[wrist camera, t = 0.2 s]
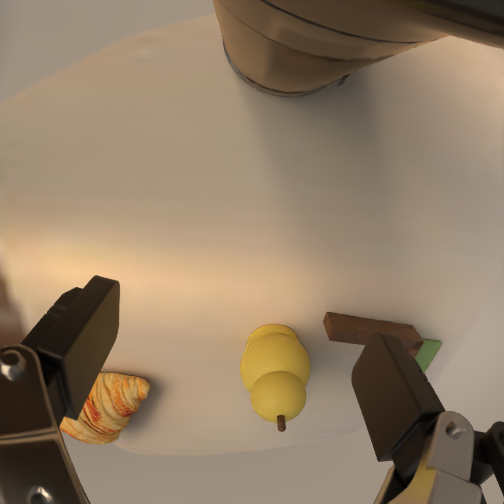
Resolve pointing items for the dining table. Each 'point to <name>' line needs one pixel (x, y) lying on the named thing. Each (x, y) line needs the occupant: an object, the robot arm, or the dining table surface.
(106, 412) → the croissant
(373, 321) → the corner fence
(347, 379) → the dining table surface
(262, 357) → the pear
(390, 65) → the dining table surface
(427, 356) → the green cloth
